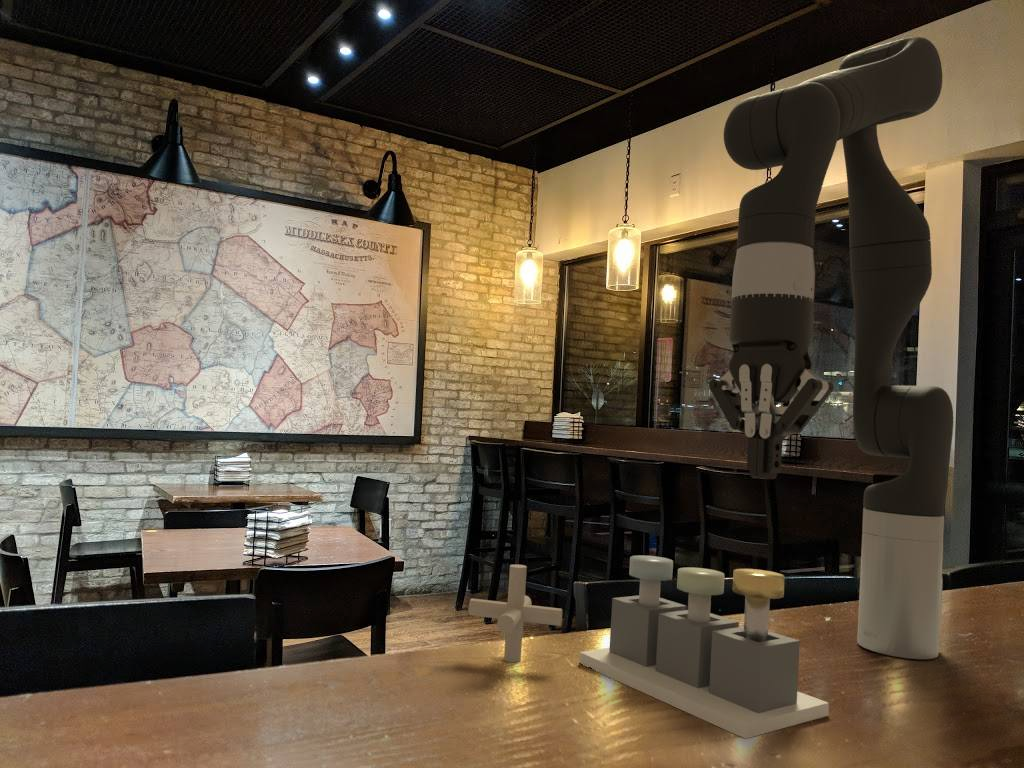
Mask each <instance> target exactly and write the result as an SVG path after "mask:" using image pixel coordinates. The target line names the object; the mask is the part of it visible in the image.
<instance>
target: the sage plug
mask: <svg viewBox="0 0 1024 768" xmlns="http://www.w3.org/2000/svg"><path fill="white" fill-rule="evenodd" d="M676 580H677V581H676V583H677V584H676V588H677V589H678V590H679V591H682V592H684V593H688V600H687V601H688V602H687V610H688V617H687V619H689V620H692V621H695V622H698V623H705V622H710V613H711V607H712V606H711V605H712V603H711V602H712V601H711V599H712V596H718V595H719V596H720V595H723V594H724V591H725V590H724V589H725V573H724V572H722V571H719V570H716V569H710V568H703V567H689V566H688V567H680V568H678V569H677V579H676Z"/></svg>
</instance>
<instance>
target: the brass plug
mask: <svg viewBox="0 0 1024 768" xmlns="http://www.w3.org/2000/svg"><path fill="white" fill-rule="evenodd" d="M732 574H733V575H732V576H733V577H732V591H733V592H734V593H736V594H738V595H742V596H745V597H744V598H745V599H744V601H745V602H744V619H743V627H744V634H743V637H744V638H747V639H750V640H753V641H756V642H764V641H768V631H769V624H770V604H771V599H772V600H775V599H781V598H784V596H785V580H786V579H785V578H786V577H785V575H784V574H781V573H780V572H779V573H778V572H775V571H772V570H764V569H757V568H755V569H754V568H736V569H733V573H732Z"/></svg>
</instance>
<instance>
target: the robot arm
mask: <svg viewBox="0 0 1024 768" xmlns="http://www.w3.org/2000/svg"><path fill="white" fill-rule="evenodd" d="M941 62H942V61H941V58H940V53H939V52H938V50H937V48H936V46H935V44H934V43H933V42H931V40H929V39H927V38H925V37H922V36H921V37H920V36H911V37H904V38H901V39H900V38H899V39H897V40H895V41H890V42H886V43H883V44H880V45H875V46H873V47H870V48H866V49H863V50H859V51H857V52H853V53H850V54H849V55H847V56H845V57H844V58H843V60H842V61H841V62H840V64H839V67H838V70H835V71H832V72H827V73H824V74H821V75H818V76H816V77H812V78H809V79H807V80H805V81H803V82H801V83H798V84H797V85H793V86H789V87H784V88H781V89H777V90H773V91H771V92H766V93H762V94H758V95H755V96H750V97H747V98H744V99H743V100H741V101H739V102H738V103H737V104H736V105H735V106H734V107H733V109H732V110H731V111H730V112H729V114H728V116H727V118H726V121H725V123H724V129H723V142H724V143H723V144H724V147H725V150H726V152H727V154H728V156H729V157H730V159H732V161H733V162H734V163H735V164H736V165H738V166H740V167H741V168H743V169H745V170H751V171H759V170H767V169H771V168H775V167H781V168H780V170H779V171H778V173H777V174H776V176H774V177H773V178H772V179H770V180H768V181H766V182H764V183H763V184H761V185H758V186H756V187H753V188H751V189H750V190H748V191H747V192H746V193H745V194H743V196H742V197H741V199H740V201H739V208H738V222H737V223H738V224H737V240H736V241H737V243H736V256H735V260H734V266H733V271H732V273H733V274H732V283H731V284H732V285H731V300H730V301H731V302H730V304H731V305H730V320H729V321H730V322H729V323H730V325H729V343H730V344H731V345H732V348H733V351H732V355H731V357H730V359H729V361H728V371H727V372H725V373H724V374H723V375H722V376H721V377H720V379H715V378H713V379H711V380H710V382H709V383H708V386H709V390H710V392H711V393H712V395H713V397H714V399H715V401H716V402H717V405H718V406H719V407H720V410H721V411H722V413H723V415H724V417H725V418H726V420H727V422H728V423H729V425H730V427H731V429H732V430H733V431H734V430H735V431H740V432H741V433H743V434H745V436H746V437H747V457H746V458H747V460H746V467H747V471H749V475H750V478H752V479H753V478H754V479H760V480H761V479H762V480H775V479H776V478H778V477H777V476H778V474H780V472H781V470H782V461H783V460H782V457H783V442H784V439H785V438H787V437H789V436H791V435H794V434H800V433H802V431H803V430H804V429H805V427H806V426H807V425H808V424H809V422H810V421H811V420H812V418H813V417H814V416H815V415H816V413H817V412H818V410H819V409H820V408H821V406H823V404H824V403H825V401H826V400H827V399H828V397H829V396H830V395H831V393H832V392H833V391H834V383H833V381H831V380H827V379H822V378H821V377H820V376H819V375H818V374H817V373H816V372H814V370H812V369H813V362H812V359H811V357H810V353H809V348H810V345H812V342H813V332H814V331H813V327H814V311H815V310H814V309H815V288H816V285H815V284H816V268H815V267H816V266H815V257H814V254H815V253H814V248H815V230H816V229H815V228H816V210H817V205H818V201H819V198H820V195H821V191H822V187H823V185H824V181H825V178H826V174H827V173H828V172H827V171H828V169H829V166H830V163H831V160H832V158H833V155H834V152H835V150H836V146H837V143H838V141H842V145H843V146H842V148H843V155H844V161H845V162H844V163H845V172H846V180H847V181H846V182H847V199H848V223H849V224H848V225H849V226H848V227H849V228H848V232H849V234H848V235H849V237H848V238H849V260H850V261H849V263H850V279H851V286H852V287H851V288H852V301H853V302H852V303H853V319H854V320H853V321H854V368H853V386H852V387H853V391H852V423H853V424H852V426H853V432H854V437H855V440H856V443H857V445H858V448H859V449H860V450H861V451H862V452H863V453H866V454H867V455H871V456H879V457H889V458H890V457H891V458H902V459H903V458H904V459H909V462H908V466H907V469H906V470H905V472H903V473H902V474H900V475H899V476H897V477H895V478H893V479H889V480H886V481H883V482H878V483H874V484H871V485H868V486H867V487H866V488H865V490H864V492H863V505H862V506H863V508H862V509H863V510H862V529H861V530H862V534H861V555H860V574H859V575H860V576H859V577H860V578H859V596H858V599H859V600H858V601H859V602H858V616H857V618H858V619H857V637H856V641H857V644H858V645H859V646H860V647H862V648H864V649H867V650H869V651H872V652H876V653H878V654H882V655H886V656H890V657H896V658H902V659H911V660H912V659H913V660H933V659H936V658H938V657H939V653H940V651H941V627H942V602H943V582H944V581H943V580H944V579H943V559H944V557H943V556H944V534H945V533H944V531H945V527H944V526H945V506H946V499H947V494H948V488H949V487H948V486H949V475H950V474H949V472H950V460H951V453H952V452H951V451H952V445H953V444H952V442H953V436H954V435H953V433H954V410H953V408H954V407H953V404H952V400H951V397H950V396H949V394H948V392H947V391H946V390H945V389H944V388H942V387H939V386H933V385H932V386H931V385H891V370H892V369H891V368H892V361H893V356H894V351H895V348H896V345H897V344H898V341H899V339H900V337H901V335H902V333H903V332H904V330H905V328H906V327H907V325H908V323H909V322H910V320H911V319H912V317H913V315H914V314H915V312H916V311H917V309H918V308H919V306H920V305H921V303H922V300H923V299H924V298H925V296H926V294H927V291H928V289H929V287H930V284H931V281H932V276H933V274H932V273H933V271H932V268H933V267H932V247H931V246H932V244H931V242H932V241H931V239H932V238H931V229H930V225H929V223H928V220H927V219H926V216H925V215H924V213H923V211H922V210H921V208H919V206H918V205H917V202H915V201H914V199H913V198H912V197H911V196H910V195H909V194H908V192H907V191H906V190H905V189H904V187H902V185H901V184H900V182H898V180H897V178H895V176H894V175H893V173H892V171H891V170H890V169H889V167H888V166H887V164H886V161H885V159H884V156H883V153H882V150H881V147H880V144H879V138H878V125H879V126H880V125H884V124H888V123H893V122H896V121H901V120H906V119H910V118H914V117H917V116H919V115H921V114H924V113H926V112H928V111H930V109H932V108H933V107H934V106H935V105H936V103H937V102H938V100H939V99H940V95H941V93H942V87H943V67H942V63H941ZM797 392H798V393H797ZM796 393H797V394H796ZM775 403H776V404H777V405H775Z"/></svg>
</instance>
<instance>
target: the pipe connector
mask: <svg viewBox="0 0 1024 768" xmlns="http://www.w3.org/2000/svg"><path fill="white" fill-rule="evenodd" d="M527 568H528V567H527V565H524V564H510V565H509V574H508V575H509V576H508V589H507V590H508V591H507V602H506V601H505V602H504V601H498V600H497V601H496V600H488V599H481V598H480V599H478V598H470V600H469V603H468V610H467V611H468V612H467V613H468V615H469V616H474V617H482V618H493V619H497V622H496V625H497V628H498V630H499V631H500V632H502V633H504V634H505V637H504V653H503V660H504V661H505V662H508V663H519V662H521V661H522V659H521V657H522V649H523V648H522V647H523V631H524V629H523V628H524V627H523V626H524V623H532V624H533V623H534V624H539V625H540V624H542V625H550V626H559V627H560V626H562V622H563V621H562V620H563V609H562V608H557V607H550V606H541V605H532V599H531V598H530V597H529V596H528V595H526V583H527V581H526V580H527Z"/></svg>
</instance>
